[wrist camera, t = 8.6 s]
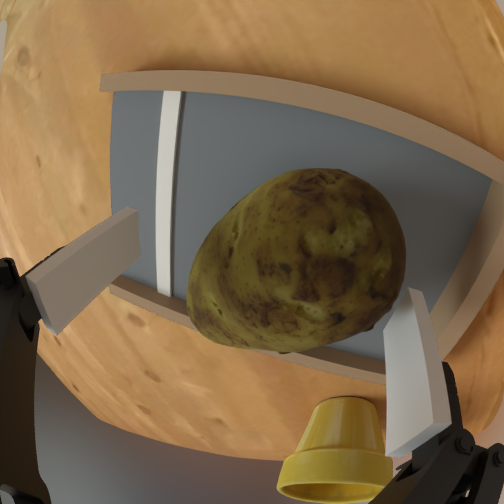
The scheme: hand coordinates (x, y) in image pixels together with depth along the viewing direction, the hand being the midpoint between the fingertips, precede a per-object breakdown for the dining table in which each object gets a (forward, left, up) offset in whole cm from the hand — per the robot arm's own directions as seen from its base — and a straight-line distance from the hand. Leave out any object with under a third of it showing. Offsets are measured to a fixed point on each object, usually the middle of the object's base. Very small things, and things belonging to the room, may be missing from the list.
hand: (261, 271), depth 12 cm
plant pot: (+18, +11, -6) cm, 22 cm away
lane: (0, -1, -5) cm, 6 cm away
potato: (+1, 0, -5) cm, 5 cm away
